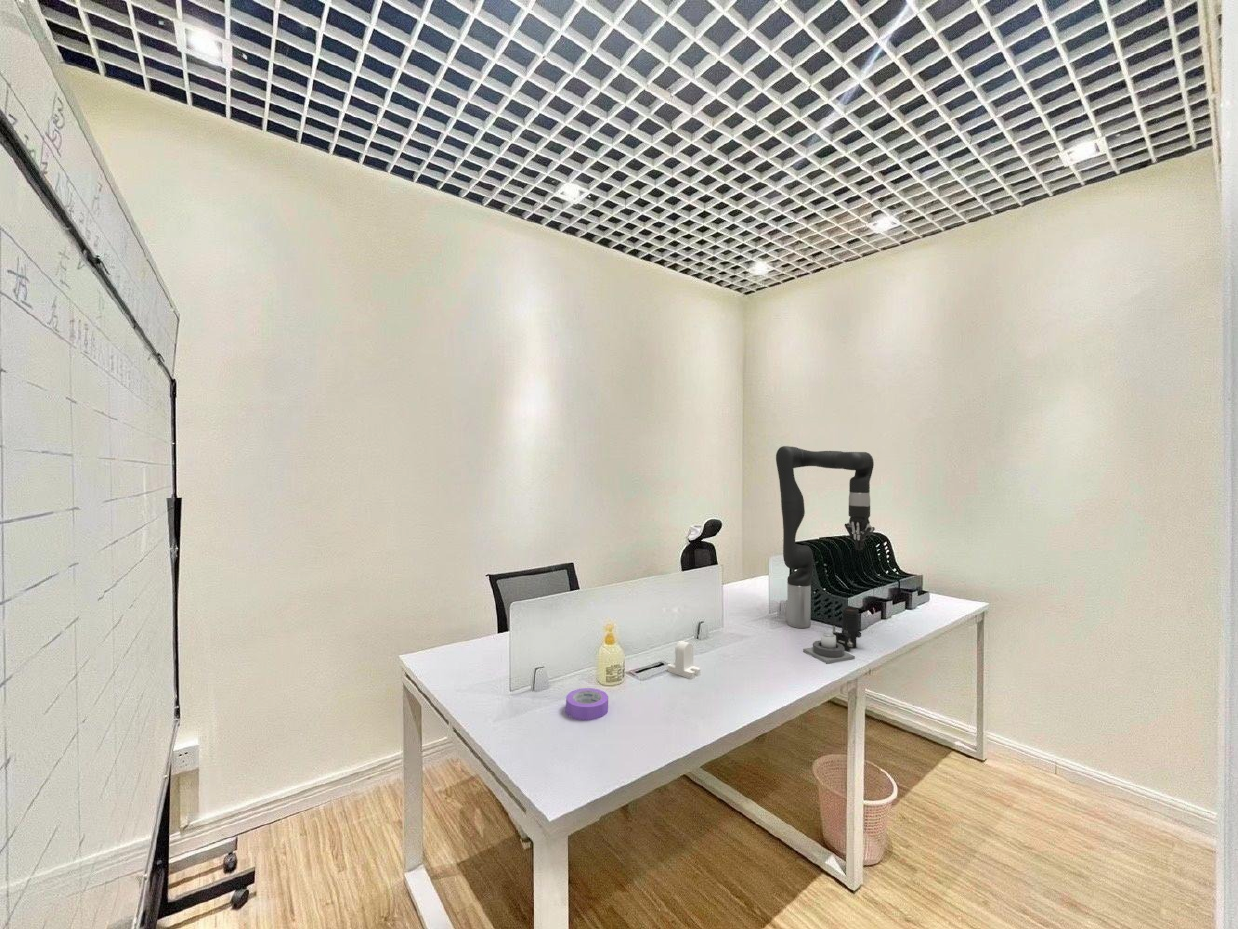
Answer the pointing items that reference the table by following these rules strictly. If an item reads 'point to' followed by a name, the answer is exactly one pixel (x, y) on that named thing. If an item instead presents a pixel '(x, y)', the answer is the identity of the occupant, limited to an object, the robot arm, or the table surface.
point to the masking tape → (587, 711)
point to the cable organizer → (684, 661)
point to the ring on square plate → (828, 653)
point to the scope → (848, 629)
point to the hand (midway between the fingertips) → (859, 549)
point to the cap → (828, 640)
